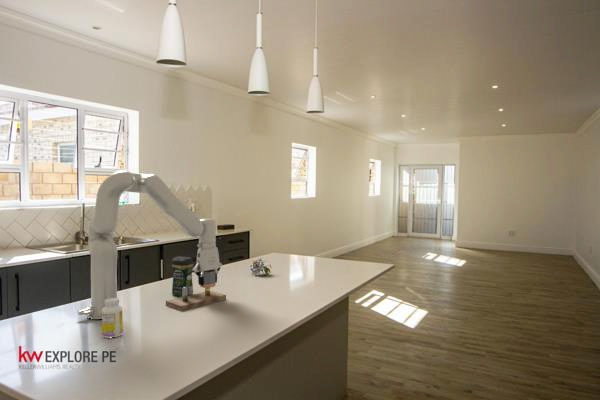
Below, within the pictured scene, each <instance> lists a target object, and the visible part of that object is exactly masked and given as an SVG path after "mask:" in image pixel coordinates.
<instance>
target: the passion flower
mask: <svg viewBox="0 0 600 400" xmlns="http://www.w3.org/2000/svg"><path fill="white" fill-rule="evenodd" d="M266 263H267V261H266V260H264V261H263V258H262V257H260V258H259V259H256V260H253V261H252V263H251V265H250V267H248V268H247V270H250V271H251V275H253V276H254V277H255V276H257V275H260V274H261V272H262V273H265V275H266V276H267V277H268V276H269V274H271V269H272V268H273V267H272V265H271V264H269V265H266ZM268 266H269V267H270V268H269V267H268Z"/></svg>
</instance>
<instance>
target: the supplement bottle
mask: <svg viewBox="0 0 600 400" xmlns="http://www.w3.org/2000/svg"><path fill="white" fill-rule="evenodd" d="M119 303H120V299H119V297H117V298H109V299H106V300H105V301H104V304H105V307H104V308H103V309H102V320H101V336H102V338H104V337H105V338H104V339H108V338H109V339H111V338H110V337H116V338H118V337H117V336H119V337H120V335H121V336H122V335H123V334H124V333H123V332H124V329H123V327H124V326H123V325H124V321H123V307H122V306H121V305H120V304H119Z"/></svg>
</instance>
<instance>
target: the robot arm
mask: <svg viewBox="0 0 600 400" xmlns="http://www.w3.org/2000/svg"><path fill="white" fill-rule="evenodd" d="M124 192H126V193H127V192H129V193H137V194H138V193H139V194H147V196H148V197H149V198H150V199H151V200H152V201H153V202H154V203H155V204H156V205H157V206H158V207H159V209H160V210H161V211H162V212H163V213H164V214H166V215H168V216H169V217H171V218H172V219H174V221H176V222H177V223H178V224H180V226H179V227H180V231H181V233H182V234H184V235H186V236H189V237H192V238H197V237H198V243H197V244H196V246H197V248H198V249H197V255H196V264H195V266H193V267H192V272H193V273H194V274H195V275H196V276H197V278H198V280H197V281H198V285H199V286H200V285H202V286H203V285H204V277H203V274H204V271H209V270H216V283H218V274H219V271H220V270H221V268H222V266H223V264H222V263H221V262H220V255H219V254H220V253H219V249H218V247H217V244H216V242H217V241H216V240H217V239H216V236H217V235H216V234H217V233H216V220H215V219H214V218H201V219H199V217H197V215H196V214H195V213H194V212H193V211H192V210H191V209H190V208H189V207H188V206H187V205H186V204H185V203H184V202H183V201H182V200H181V199H179V197H177V195H176V194H175V193H174V192H173V191H172V190H171V189H170V187H169V186H168V185H167V184H166V183H165V182H164V181H163V180H162V178H160V177H159V176H158V175H157V174H154V173H149V174H148V173H147V174H146V173H135V172H130V171H128V170H117V171H115V172H113V173H111V175H109V176H107V177H106V178H105V179H104V180H103V181H102V183H101V184H100V186H99V188H98V190H97V193H96V200H95V208H94V213H93V214H92V215H91V217H90V220H89V221H90V222H89V228H88V240H87V241H88V242H87V249H88V252H89V254H90V296H91V297H90V303H91V304H90V305H88V307H87V308H84V309H78V311H77V314H78V316H83V315H84V316H86V317H88V318H87V319H89V318H92V319H102V309H103V308H104V307H105V304H104V301H105V300H106V299H109V298H118V284H117V283H118V278H117V277H118V276H117V275H118V274H117V271H118V270H117V269H118V246H117V245H116V243H115V241H114V233H115V231H116V230H117V228H118V225H119V224H118V221H119V206H120V200H121V196H122V194H123V193H124ZM92 319H91V320H92Z"/></svg>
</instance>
